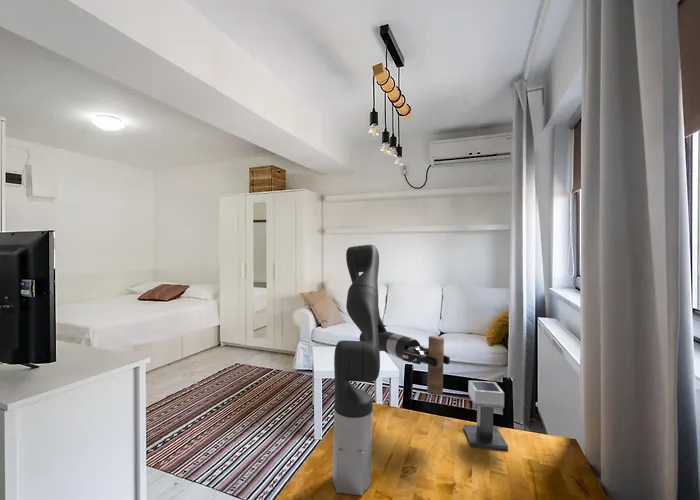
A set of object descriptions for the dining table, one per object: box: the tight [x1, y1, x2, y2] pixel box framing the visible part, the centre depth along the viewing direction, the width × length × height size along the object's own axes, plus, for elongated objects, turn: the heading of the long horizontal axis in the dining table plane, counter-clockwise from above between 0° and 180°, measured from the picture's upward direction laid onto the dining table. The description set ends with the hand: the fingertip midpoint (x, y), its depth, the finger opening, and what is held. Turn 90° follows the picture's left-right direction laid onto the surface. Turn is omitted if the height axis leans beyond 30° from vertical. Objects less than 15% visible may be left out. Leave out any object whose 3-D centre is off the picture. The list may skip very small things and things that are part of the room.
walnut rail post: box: [426, 335, 445, 396], centre depth 98 cm, size 4×4×16 cm
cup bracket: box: [462, 380, 509, 451], centre depth 98 cm, size 10×10×16 cm
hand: (442, 361), depth 96 cm, fingers closed on walnut rail post, 4 cm apart
